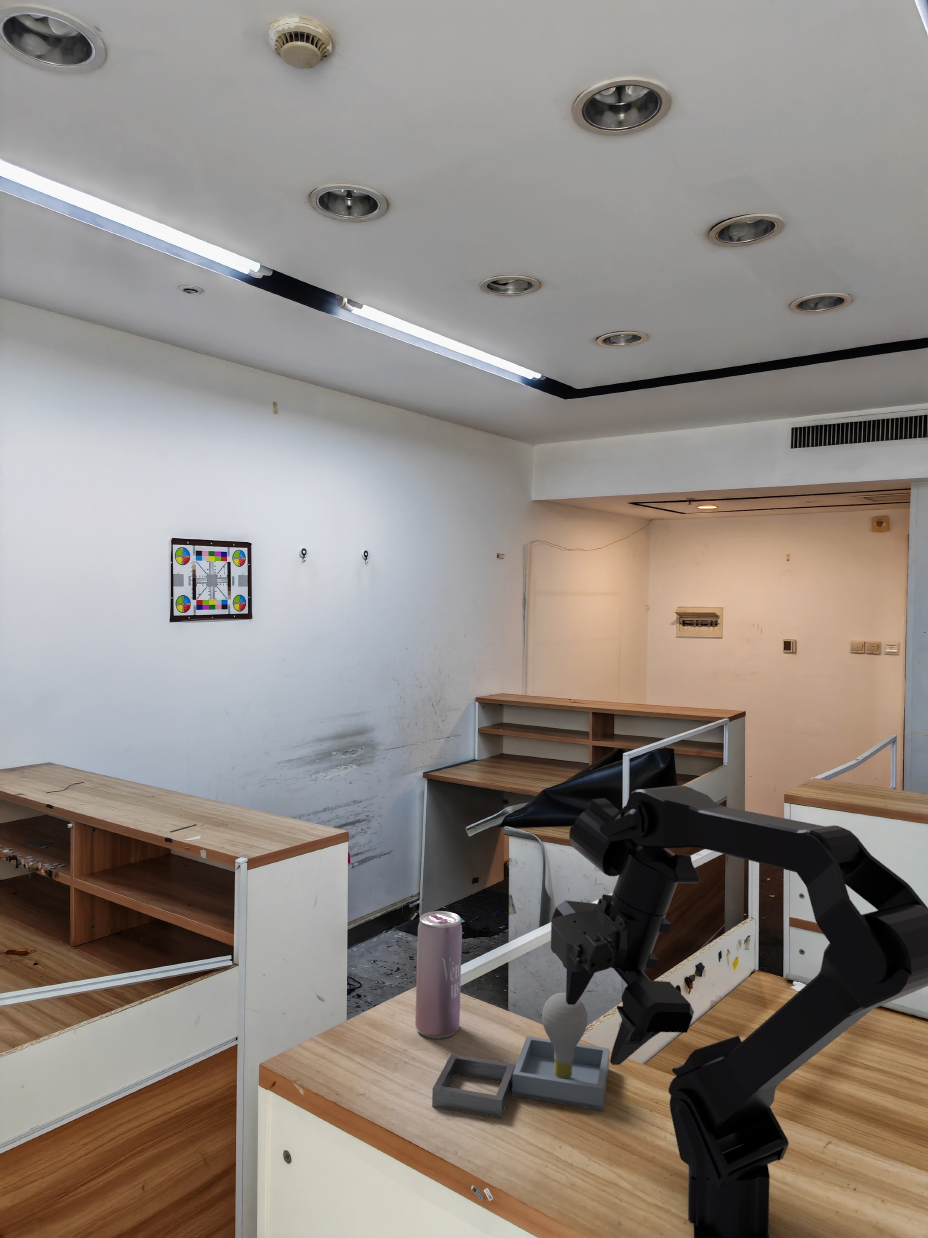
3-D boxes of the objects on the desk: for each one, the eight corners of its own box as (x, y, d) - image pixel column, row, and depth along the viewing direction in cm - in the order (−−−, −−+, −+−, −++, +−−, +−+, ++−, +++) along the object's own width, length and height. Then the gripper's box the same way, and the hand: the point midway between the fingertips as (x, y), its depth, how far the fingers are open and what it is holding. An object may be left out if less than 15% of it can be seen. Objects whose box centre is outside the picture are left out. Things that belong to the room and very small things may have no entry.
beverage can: (441, 1015, 114) (443, 907, 115) (468, 1031, 110) (471, 920, 110) (406, 1027, 111) (409, 916, 111) (433, 1045, 106) (436, 929, 106)
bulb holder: (514, 1081, 98) (515, 1064, 98) (501, 1119, 90) (501, 1100, 90) (450, 1070, 100) (451, 1054, 100) (432, 1106, 92) (432, 1089, 92)
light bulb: (584, 1094, 95) (586, 1007, 95) (537, 1087, 96) (540, 1001, 96) (587, 1070, 100) (589, 987, 100) (542, 1064, 101) (545, 982, 101)
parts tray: (608, 1069, 101) (609, 1048, 101) (602, 1111, 92) (602, 1089, 92) (526, 1056, 104) (526, 1036, 104) (512, 1096, 95) (512, 1074, 95)
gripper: (535, 848, 90) (491, 974, 92) (628, 950, 73) (572, 1101, 75) (615, 858, 94) (572, 978, 96) (720, 956, 78) (665, 1099, 80)
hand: (591, 1032), depth 87 cm, fingers open, 9 cm apart
